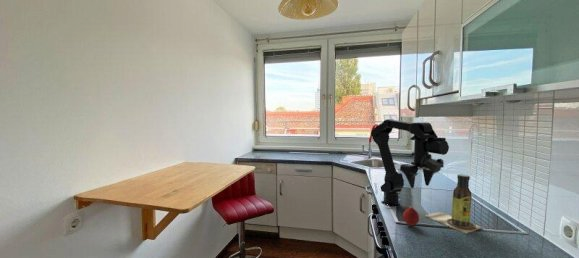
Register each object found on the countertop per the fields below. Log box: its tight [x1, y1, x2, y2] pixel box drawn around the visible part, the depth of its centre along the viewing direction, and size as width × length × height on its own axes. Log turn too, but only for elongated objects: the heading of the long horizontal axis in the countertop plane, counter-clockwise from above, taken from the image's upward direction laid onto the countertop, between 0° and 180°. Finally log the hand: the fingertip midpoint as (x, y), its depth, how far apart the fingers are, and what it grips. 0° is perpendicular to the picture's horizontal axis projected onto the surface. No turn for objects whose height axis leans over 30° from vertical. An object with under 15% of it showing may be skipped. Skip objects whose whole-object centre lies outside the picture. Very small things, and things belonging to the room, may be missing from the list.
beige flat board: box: [424, 211, 483, 234], centre depth 106 cm, size 17×10×1 cm, turn 24°
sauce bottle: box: [450, 173, 473, 226], centre depth 102 cm, size 6×6×20 cm
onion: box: [402, 206, 420, 227], centre depth 102 cm, size 6×6×8 cm
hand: (419, 186), depth 112 cm, fingers open, 9 cm apart
